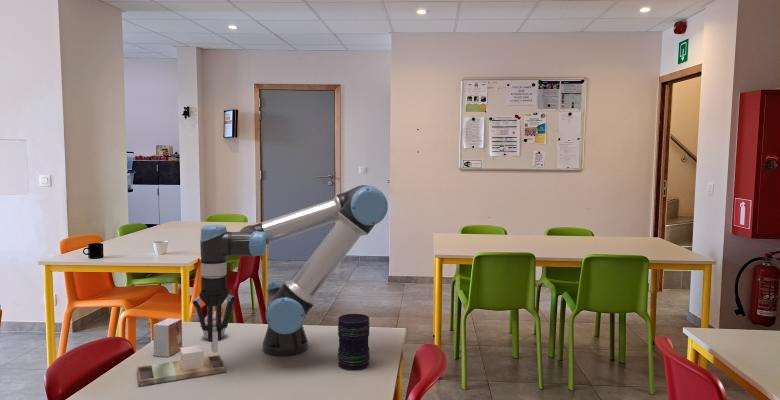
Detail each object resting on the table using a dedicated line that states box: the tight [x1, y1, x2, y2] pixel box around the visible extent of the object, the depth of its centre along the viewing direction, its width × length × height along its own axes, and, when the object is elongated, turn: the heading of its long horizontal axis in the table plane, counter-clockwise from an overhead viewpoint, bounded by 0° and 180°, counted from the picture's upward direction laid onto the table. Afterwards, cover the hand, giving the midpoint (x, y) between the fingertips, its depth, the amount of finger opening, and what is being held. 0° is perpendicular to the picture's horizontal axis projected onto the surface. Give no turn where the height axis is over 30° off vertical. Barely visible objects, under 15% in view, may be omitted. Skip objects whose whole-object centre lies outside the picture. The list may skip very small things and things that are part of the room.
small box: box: [152, 317, 183, 358], centre depth 181 cm, size 8×6×10 cm
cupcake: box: [199, 310, 226, 341], centre depth 197 cm, size 9×9×10 cm
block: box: [179, 344, 205, 371], centre depth 166 cm, size 6×6×5 cm
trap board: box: [136, 354, 227, 388], centre depth 165 cm, size 24×12×2 cm, turn 117°
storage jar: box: [337, 313, 370, 372], centre depth 171 cm, size 10×10×15 cm
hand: (214, 351), depth 169 cm, fingers closed
